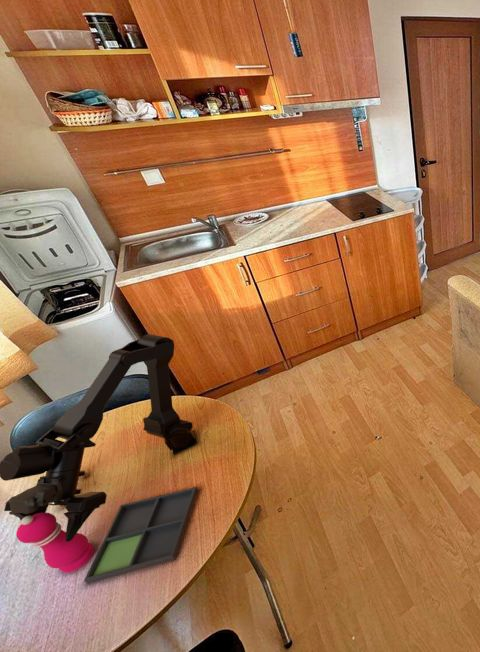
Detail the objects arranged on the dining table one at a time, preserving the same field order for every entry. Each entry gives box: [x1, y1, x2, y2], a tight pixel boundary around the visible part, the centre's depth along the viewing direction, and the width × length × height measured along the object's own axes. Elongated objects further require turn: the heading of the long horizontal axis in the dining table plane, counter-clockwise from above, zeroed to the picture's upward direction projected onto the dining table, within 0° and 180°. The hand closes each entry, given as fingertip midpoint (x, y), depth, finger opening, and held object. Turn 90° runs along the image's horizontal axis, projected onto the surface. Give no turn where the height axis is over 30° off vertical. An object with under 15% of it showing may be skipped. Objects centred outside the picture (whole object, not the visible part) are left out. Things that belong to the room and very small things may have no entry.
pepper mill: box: [15, 512, 95, 574], centre depth 87 cm, size 7×7×20 cm
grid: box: [83, 486, 199, 585], centre depth 97 cm, size 18×18×2 cm
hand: (49, 541), depth 86 cm, fingers open, 9 cm apart
